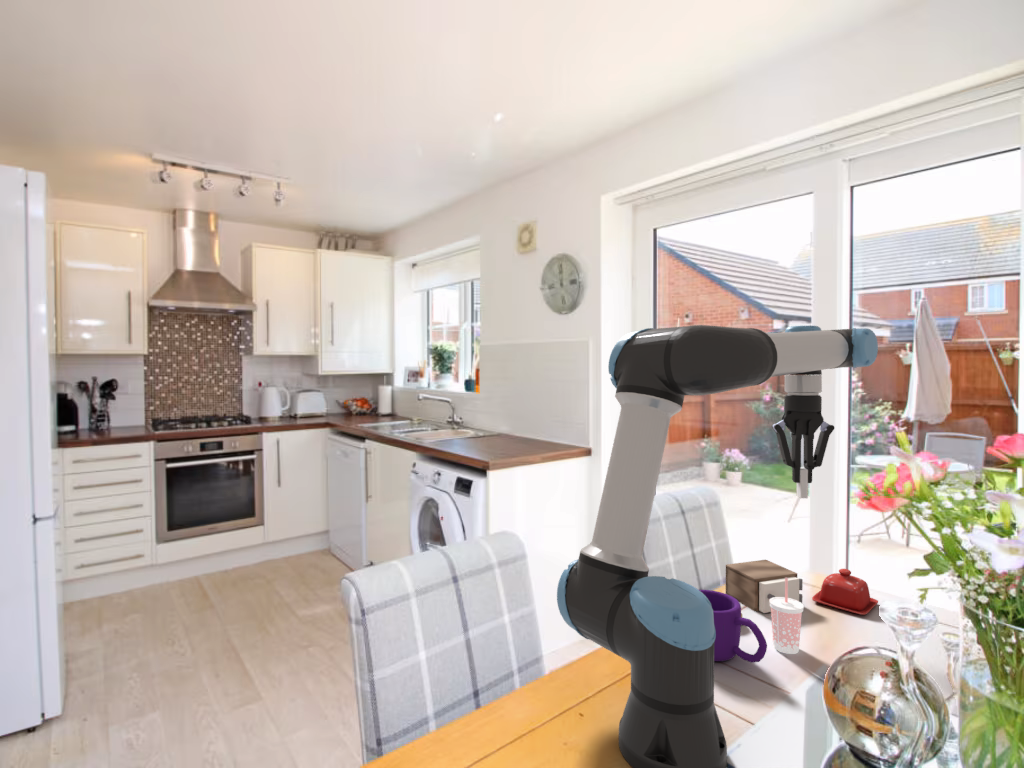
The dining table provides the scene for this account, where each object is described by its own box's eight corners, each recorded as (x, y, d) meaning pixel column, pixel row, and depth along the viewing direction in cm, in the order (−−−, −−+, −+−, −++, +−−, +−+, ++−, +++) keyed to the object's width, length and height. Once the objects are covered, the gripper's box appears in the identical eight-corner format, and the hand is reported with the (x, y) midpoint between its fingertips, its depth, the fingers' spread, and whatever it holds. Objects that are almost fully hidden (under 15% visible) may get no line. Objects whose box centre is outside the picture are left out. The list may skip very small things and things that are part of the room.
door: (798, 603, 129) (799, 575, 129) (808, 607, 126) (808, 579, 126) (759, 610, 125) (759, 582, 125) (768, 615, 123) (768, 586, 122)
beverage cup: (810, 651, 108) (811, 580, 107) (789, 658, 105) (790, 585, 104) (782, 638, 113) (782, 570, 113) (762, 644, 110) (762, 575, 110)
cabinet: (797, 605, 129) (797, 573, 129) (754, 611, 125) (755, 579, 125) (765, 589, 138) (765, 559, 138) (725, 595, 135) (725, 564, 135)
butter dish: (865, 620, 121) (865, 582, 121) (809, 604, 130) (809, 568, 130) (880, 605, 129) (880, 569, 129) (826, 591, 138) (826, 557, 138)
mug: (667, 647, 109) (667, 597, 109) (702, 631, 116) (702, 584, 116) (748, 687, 95) (748, 630, 95) (783, 667, 102) (783, 613, 102)
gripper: (826, 393, 128) (826, 494, 129) (767, 393, 130) (766, 492, 131) (840, 394, 121) (839, 501, 121) (777, 394, 123) (776, 499, 123)
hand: (802, 496), depth 126 cm, fingers closed
